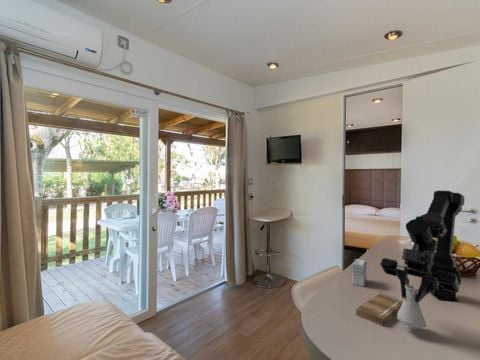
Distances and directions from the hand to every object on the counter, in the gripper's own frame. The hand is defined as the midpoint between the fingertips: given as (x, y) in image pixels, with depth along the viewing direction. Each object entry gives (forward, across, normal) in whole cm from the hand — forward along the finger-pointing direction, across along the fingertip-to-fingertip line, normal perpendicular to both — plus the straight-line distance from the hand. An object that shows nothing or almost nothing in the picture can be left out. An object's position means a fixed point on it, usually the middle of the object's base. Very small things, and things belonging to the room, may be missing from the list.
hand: (409, 299), depth 73 cm
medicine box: (-10, -26, +23) cm, 36 cm away
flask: (+4, 0, +6) cm, 7 cm away
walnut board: (+2, -10, +11) cm, 15 cm away
